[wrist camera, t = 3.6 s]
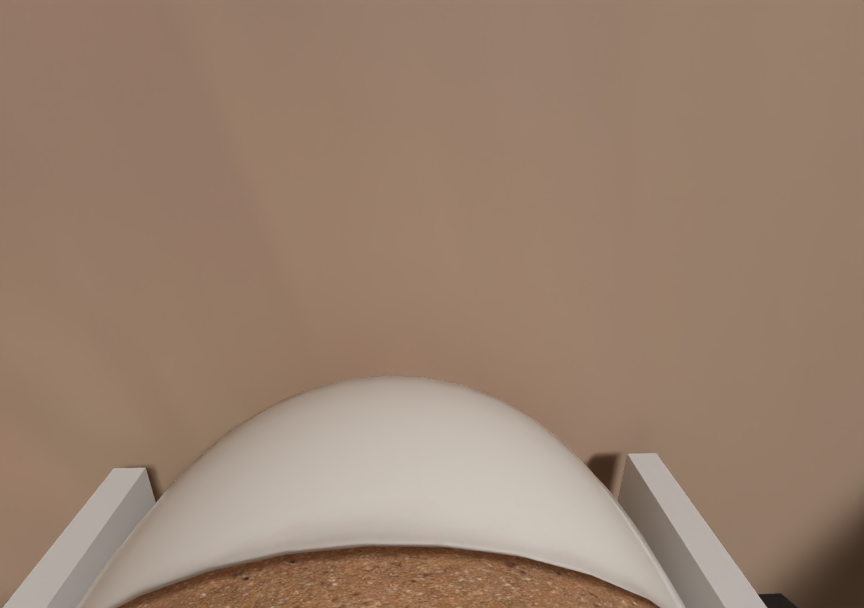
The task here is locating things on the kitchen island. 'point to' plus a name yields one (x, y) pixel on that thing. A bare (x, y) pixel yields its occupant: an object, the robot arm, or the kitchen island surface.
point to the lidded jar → (386, 513)
